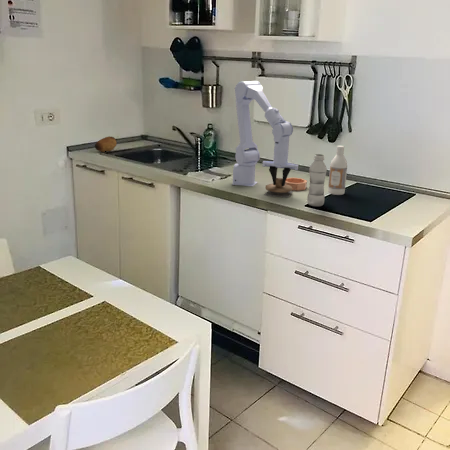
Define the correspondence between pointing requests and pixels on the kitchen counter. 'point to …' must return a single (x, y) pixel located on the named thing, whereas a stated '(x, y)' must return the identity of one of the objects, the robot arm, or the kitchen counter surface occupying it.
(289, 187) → the lid
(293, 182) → the bowl
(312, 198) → the plastic bottle
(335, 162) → the bath foam
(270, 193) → the mat
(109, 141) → the potato
